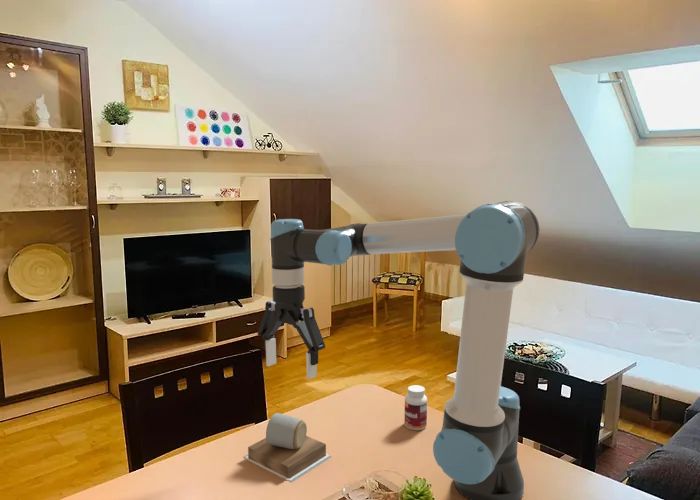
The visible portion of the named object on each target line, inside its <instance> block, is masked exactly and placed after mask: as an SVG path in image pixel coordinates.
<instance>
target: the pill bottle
mask: <svg viewBox="0 0 700 500" xmlns="http://www.w3.org/2000/svg"><path fill="white" fill-rule="evenodd" d="M425 393H426V389H425V387H424V386H422V385H417V384H414V385H410V386H408V387H407V394H406V395H405V397H404V419H403V420H404V422H403V423H404V427H405V428H407V429H409V430H412V431H422V430H424V429H426V428H427V426H428V425H427V423H428V422H427V420H428V398H427V395H425Z"/></svg>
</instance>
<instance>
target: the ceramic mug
mask: <svg viewBox="0 0 700 500" xmlns="http://www.w3.org/2000/svg"><path fill="white" fill-rule="evenodd" d="M307 428H308V427H307V424H306V422H305V420H303V419H302V418H301V419H300V418H298V417H295V416H290V415H287V414H283V413H280V412H275V413H273V414H272V416H271V417H270V418H269V420H268V423H267V426H266V430H265V431H266V432H265V438H266V441H267V443H268V444H269V445H274V446H278V447H284V448H288V449H299V448H300V447H301V446H302V445H303V443H304V441H305V438H306V436H307V431H308V429H307Z"/></svg>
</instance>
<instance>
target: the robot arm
mask: <svg viewBox="0 0 700 500" xmlns="http://www.w3.org/2000/svg"><path fill="white" fill-rule="evenodd" d="M540 230H541V229H540V223H539V219H538V218H537V216H536V215H535V213H534V212H533V211H532V209H531V208H529V207H528V206H527V205H525V204H523V203H521V202H517V201H513V200H505V201H501V202H497V203H487V204H486V203H485V204H482V205H480V206H478V207H476V208H472V209H471V211H469V212H468V213H464V214H454V215H443V216H434V217H433V216H431V217H421V218H411V219H402V220H390V221H389V220H388V221H378V222H370V223H352V224H349V225H344V226H338V227H333V228H327V229H306V228H305V227H304V223H303V221H302V220H301V219H297V218H284V219H283V218H280V219H275V220H273V221H272V222H271V224H270V238H269V239H270V249H271V250H270V251H271V252H270V253H271V284H272V285H273V286H272V300H269V301H266V302H265V305H264V306H265V307H264V308H265V310H264V313H263V315H262V319H261V322H260V324H259V326H258V330H257V336H259V337H260V336H261V337H262V339H263V340H264V341H263V342H264V344H263V345H264V351H265V361H266V367H270V366H274V365H277V342H276V341H277V339H276V336H275V334H276V333H277V332H278V331H279V328H280V327H281V326H282V325H283V324H287V325H290V326H292V327H293V329H296V330H297V332H298V334H299V337H301V339H302V341H303V343H304V344H305V346H306V348H307V349H308V350H307V351H305V352H306V353H305V360H306V361H305V362H306V379H307V380H311V379H314V378H315V377H317V376H318V374H317V373H318V369H317V368H318V367H317V365H318V364H319V351H322V350H324V349H326V344H325V340H324V339H323V335H322V333H321V330H320V328H319V324H318V322H317V320H316V317H315V310H314V308H313V307H308V308H305V307H304V301H305V298H306V297H305V296H306V295H305V285H304V283H305V263H312V264H321V265H326V266H341V265H344V264H345V263H347V261H348V260H349V259H350V257H357V256H368V255H369V256H370V255H383V254H384V255H386V254H387V255H388V254H404V253H405V254H406V253H420V252H421V253H425V252H440V251H456V254H457V256H458V257H459V258H460V261H459V271H458V274H459V275H460V276H461V277H462V279H464V281H465V282H466V283H465V284H466V285H465V291H464V293H465V294H464V302H463V311H462V320H461V329H460V335H459V336H460V337H459V338H460V339H459V348H458V355H457V362H456V363H457V364H456V373H455V381H454V392H453V396H452V397H451V398H449V399H447V401H446V402H445V405H444V411H443V419H442V426H441V431H439V432H438V433H437V434H436V436H435V439H434V440H433V445H432V452H433V453H432V454H433V457H434V460H435V462H436V464H437V466H439V467H440V468H441V470H442V472H443V473H444V474H445V475H446V476H448V477H449V478H450V479H452V480H453V481H454V485H455V488H456V490H457V491H458V492H459V493H460V495H462V496H463V497H465V498H466V499H468V500H521V499H522V497H523V495H524V492H525V490H524V489H525V482H524V477H523V476H524V475H523V474H522V470H521V467H520V464H519V463H520V462H519V459H518V442H519V440H518V439H519V425H520V421H519V419H520V410H521V406H520V396H519V395H518V394H517V392H515V391H514V390H512V389H510V388H507V387H504V386H503V385H502V380H503V379H502V378H503V370H504V364H505V363H504V362H505V355H506V347H507V339H508V331H509V324H510V315H511V308H512V300H513V294H514V293H513V292H514V289H515V288H516V287H517V286H518V285H519V284H521V283H523V281H524V276H525V269H526V263H527V255H528V254H529V253H530V252H531V251H532V250H533V249H534V248H535V246H536V245H537V244H538V241H539V237H540ZM275 313H276V314H275Z"/></svg>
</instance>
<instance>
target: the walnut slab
mask: <svg viewBox="0 0 700 500" xmlns="http://www.w3.org/2000/svg"><path fill="white" fill-rule="evenodd" d="M326 445H327V444H326V443H324V442H322V441H319V440H318V439H315V438H313V437H310V436H308V435H306V438H305V441H304V443H303V445H302V446H301V447H300V448H299V449H288V448H284V447H278V446H274V445H269V444H268V443H267V441H266V437H265V438H263V439H261V440H260V441H257V442H255V443H254V444H251V445H250V446H248V447H247V452H248V454H247V455H248V458H249V459H251V460H253V461H255V462H257V463H259V464H261V465H263V466H265V467H267V468H269V469H271V470H273V471H275V472H277V473H279V474H281V475H283V476H285V477H287V478H291V477H292V476H294V475H296V474H297V473H299V472H300V471H302V470H303V469H305V468H307V467H308V466H310V465H311V464H313V463H315V462H316V461H318V460H319V459H321V458H322V457H324V456H326V453H327V446H326Z"/></svg>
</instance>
